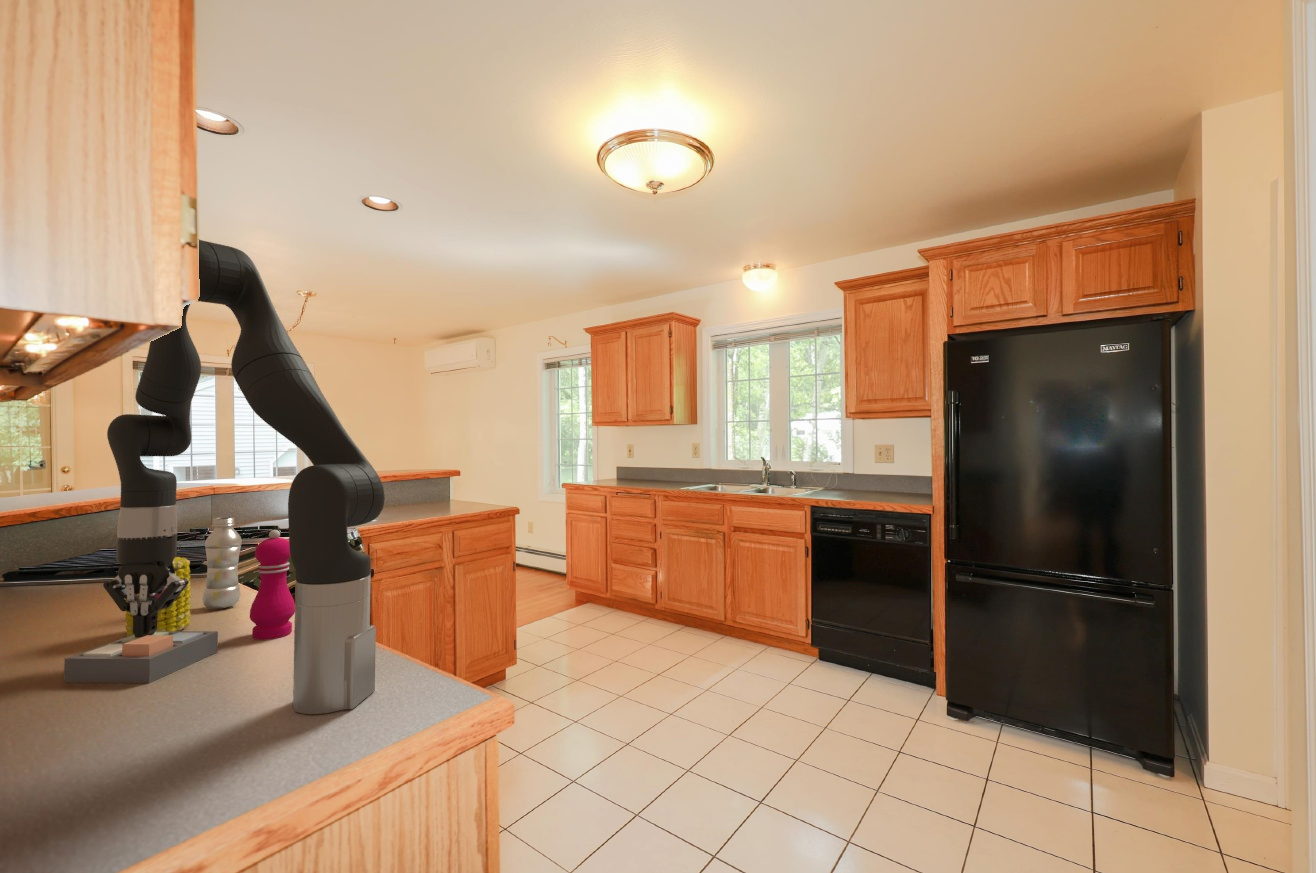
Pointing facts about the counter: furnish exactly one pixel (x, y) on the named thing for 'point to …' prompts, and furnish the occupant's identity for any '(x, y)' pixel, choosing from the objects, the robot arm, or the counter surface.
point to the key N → (105, 650)
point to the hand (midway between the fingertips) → (144, 635)
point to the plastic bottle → (222, 565)
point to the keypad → (139, 662)
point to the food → (179, 610)
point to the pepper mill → (272, 590)
